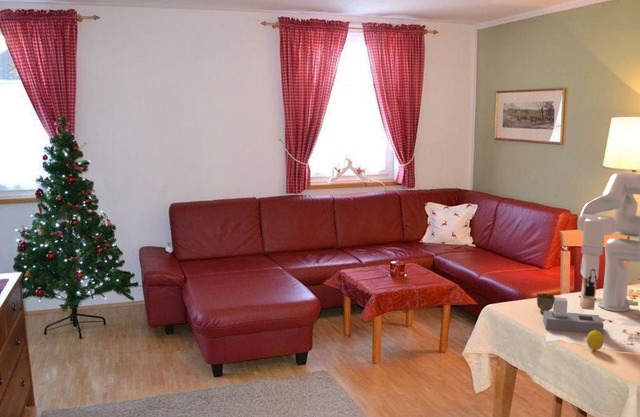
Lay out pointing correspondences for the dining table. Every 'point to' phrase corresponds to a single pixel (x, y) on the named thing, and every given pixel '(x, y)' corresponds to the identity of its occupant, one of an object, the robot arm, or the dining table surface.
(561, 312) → the metal plug
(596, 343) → the lemon
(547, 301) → the cup
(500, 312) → the dining table surface
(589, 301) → the birch plug
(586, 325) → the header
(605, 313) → the dining table surface
